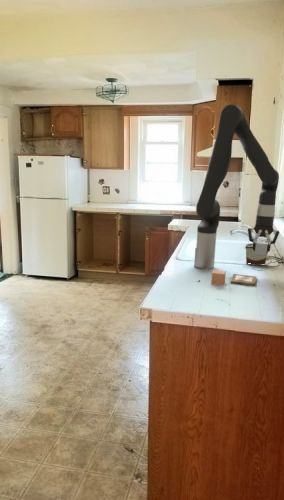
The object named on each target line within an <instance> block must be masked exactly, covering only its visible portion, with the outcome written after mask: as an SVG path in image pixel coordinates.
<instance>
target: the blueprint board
mask: <svg viewBox="0 0 284 500" xmlns="http://www.w3.org/2000/svg"><path fill="white" fill-rule="evenodd" d="M256 282H257V276H254V275H248V274H239V273H233V274H232V277H231V279H230V284H234V285H242V286H249V287H250V286H251V287H256Z"/></svg>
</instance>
